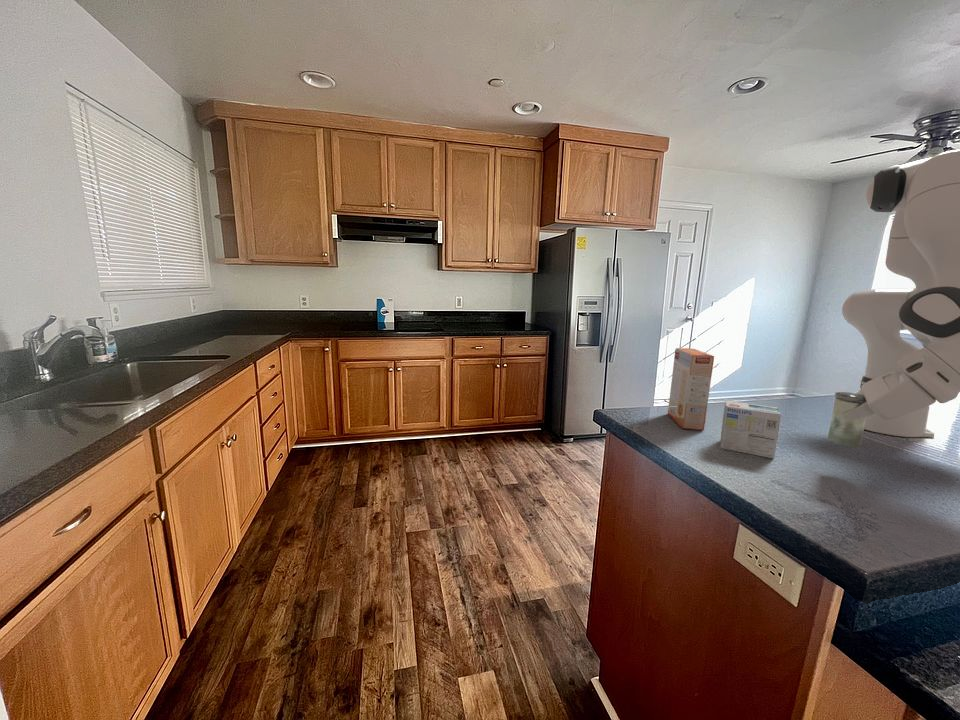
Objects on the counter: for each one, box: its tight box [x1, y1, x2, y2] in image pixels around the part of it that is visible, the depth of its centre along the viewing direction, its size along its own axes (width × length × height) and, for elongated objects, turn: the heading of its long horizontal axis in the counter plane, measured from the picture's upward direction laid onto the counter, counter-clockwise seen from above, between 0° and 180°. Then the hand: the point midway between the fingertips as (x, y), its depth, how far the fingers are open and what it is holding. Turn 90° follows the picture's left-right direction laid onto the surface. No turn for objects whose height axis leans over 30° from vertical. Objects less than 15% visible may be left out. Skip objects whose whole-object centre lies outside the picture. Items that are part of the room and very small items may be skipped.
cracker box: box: [667, 347, 715, 431], centre depth 106 cm, size 14×6×21 cm, turn 168°
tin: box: [827, 391, 867, 447], centre depth 77 cm, size 5×5×10 cm
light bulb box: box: [719, 400, 782, 459], centre depth 88 cm, size 11×7×11 cm, turn 58°
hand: (844, 413), depth 77 cm, fingers closed on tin, 5 cm apart
